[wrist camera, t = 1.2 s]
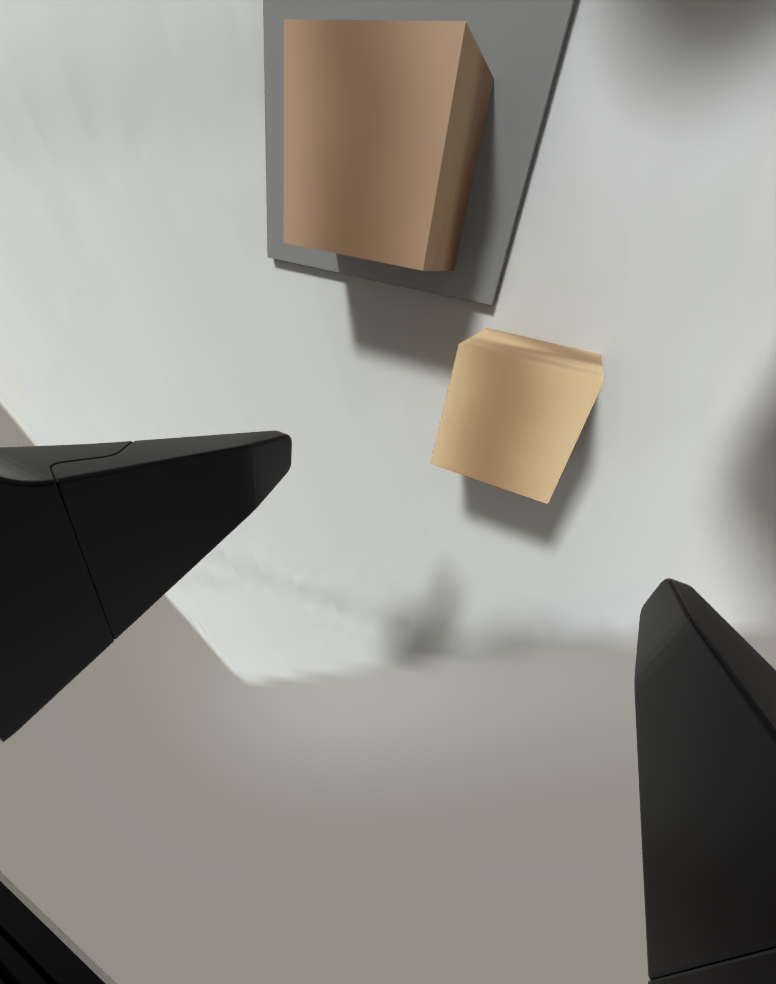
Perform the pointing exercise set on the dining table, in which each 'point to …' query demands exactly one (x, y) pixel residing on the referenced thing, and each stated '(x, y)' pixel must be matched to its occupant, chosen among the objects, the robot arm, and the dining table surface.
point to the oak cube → (515, 411)
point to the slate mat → (504, 145)
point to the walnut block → (381, 137)
